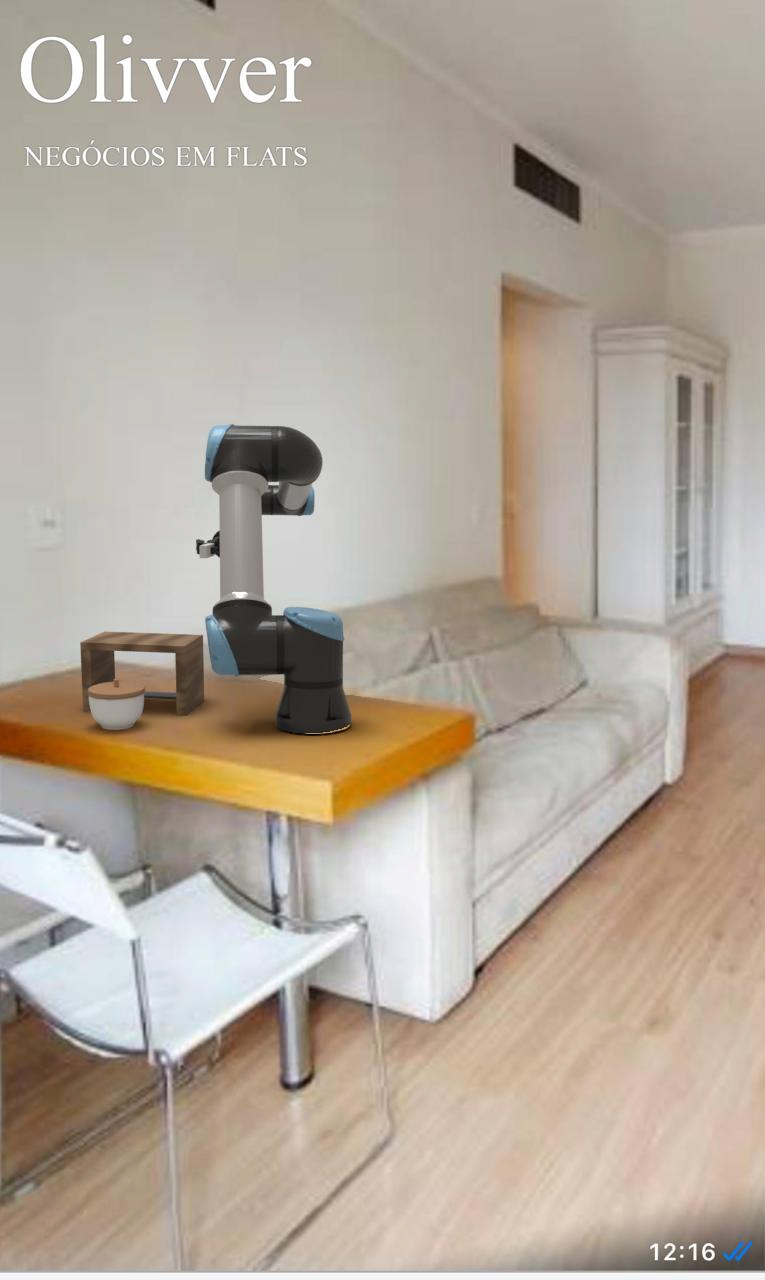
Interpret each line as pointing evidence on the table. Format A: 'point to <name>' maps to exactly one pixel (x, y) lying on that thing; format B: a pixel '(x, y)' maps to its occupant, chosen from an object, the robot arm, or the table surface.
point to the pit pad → (160, 695)
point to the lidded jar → (116, 704)
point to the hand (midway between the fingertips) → (202, 552)
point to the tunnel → (186, 648)
